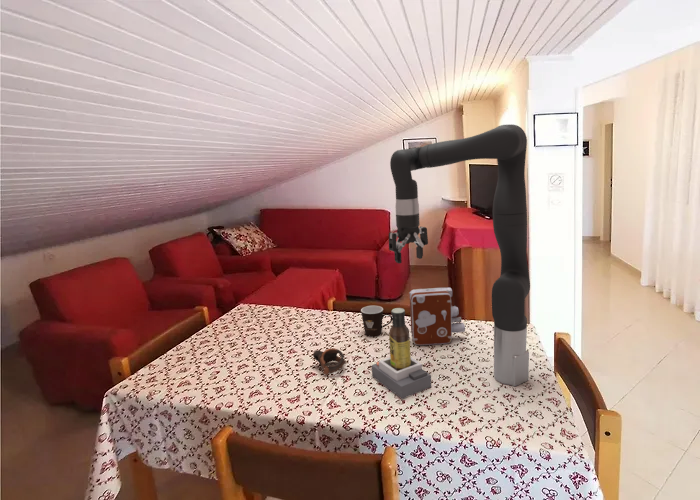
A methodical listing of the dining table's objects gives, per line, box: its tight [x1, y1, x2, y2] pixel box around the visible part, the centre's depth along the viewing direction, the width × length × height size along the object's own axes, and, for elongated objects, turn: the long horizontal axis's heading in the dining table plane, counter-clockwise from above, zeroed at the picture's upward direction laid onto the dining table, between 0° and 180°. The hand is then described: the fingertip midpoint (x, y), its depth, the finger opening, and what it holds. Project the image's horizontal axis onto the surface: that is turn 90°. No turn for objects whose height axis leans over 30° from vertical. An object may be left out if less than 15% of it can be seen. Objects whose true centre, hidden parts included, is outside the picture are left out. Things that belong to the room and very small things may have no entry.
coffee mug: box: [360, 305, 392, 338], centre depth 174 cm, size 12×9×10 cm
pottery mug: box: [312, 347, 347, 376], centre depth 151 cm, size 12×10×8 cm
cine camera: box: [408, 287, 466, 346], centre depth 164 cm, size 9×19×20 cm, turn 89°
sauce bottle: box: [388, 307, 412, 371], centre depth 137 cm, size 6×6×20 cm
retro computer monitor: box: [371, 356, 432, 400], centre depth 140 cm, size 16×11×6 cm
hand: (409, 260), depth 149 cm, fingers open, 8 cm apart
